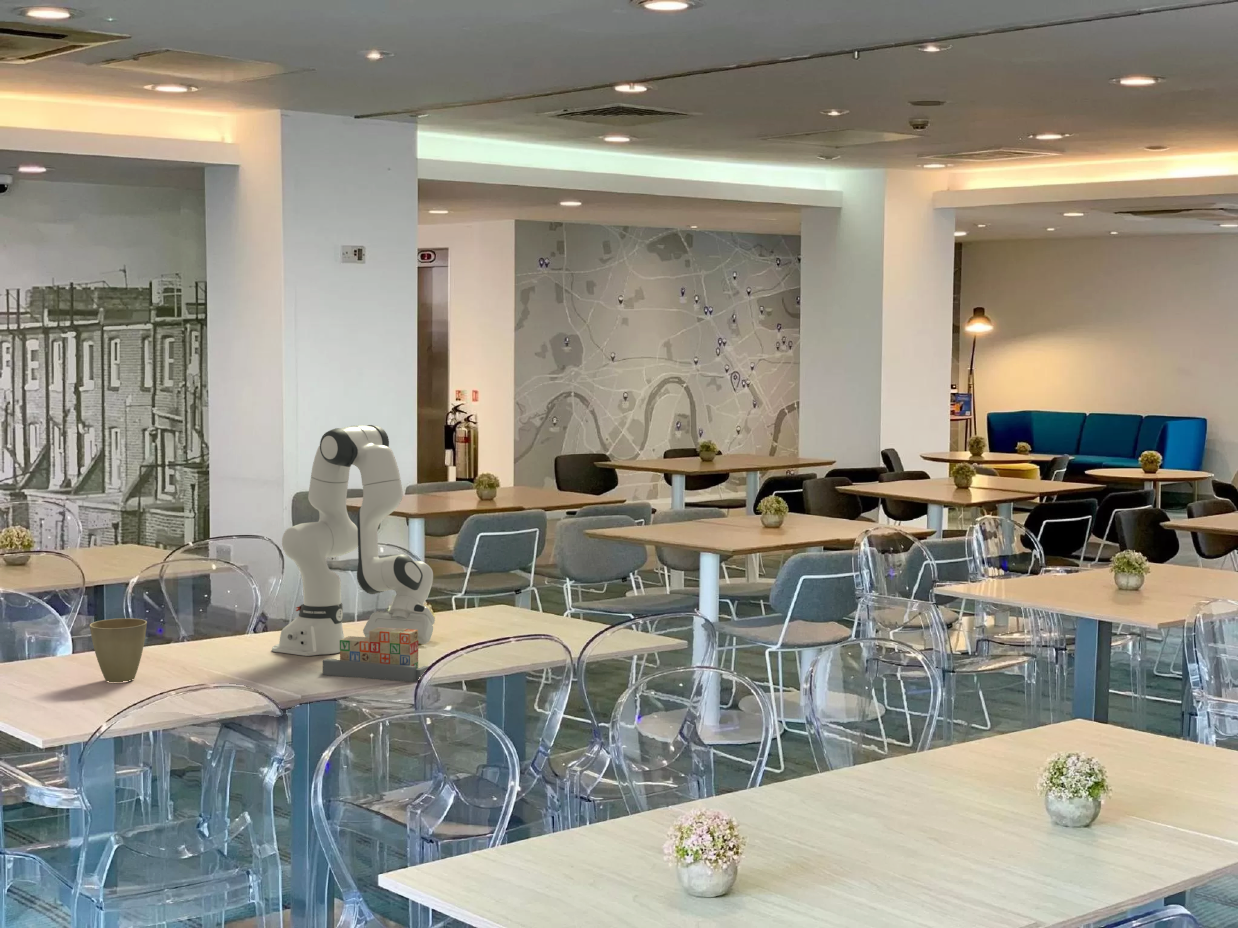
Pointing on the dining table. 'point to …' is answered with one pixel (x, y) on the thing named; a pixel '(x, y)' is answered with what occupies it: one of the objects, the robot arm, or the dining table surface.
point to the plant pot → (118, 647)
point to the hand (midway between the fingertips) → (389, 652)
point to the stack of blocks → (382, 647)
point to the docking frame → (372, 670)
